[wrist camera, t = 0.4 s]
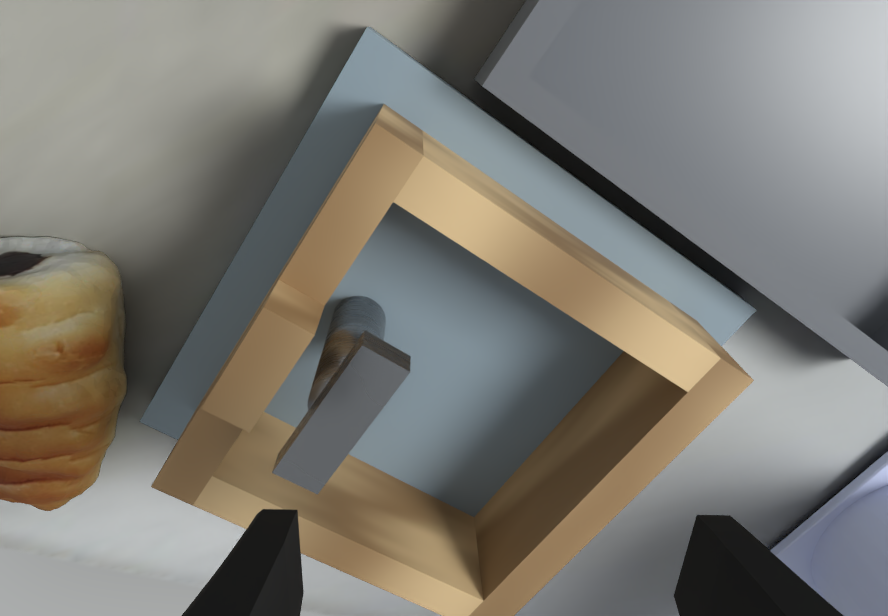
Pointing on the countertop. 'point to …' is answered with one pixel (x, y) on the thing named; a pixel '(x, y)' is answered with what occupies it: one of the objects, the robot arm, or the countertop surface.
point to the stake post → (343, 393)
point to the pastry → (57, 367)
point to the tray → (731, 135)
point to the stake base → (439, 294)
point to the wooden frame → (539, 477)
